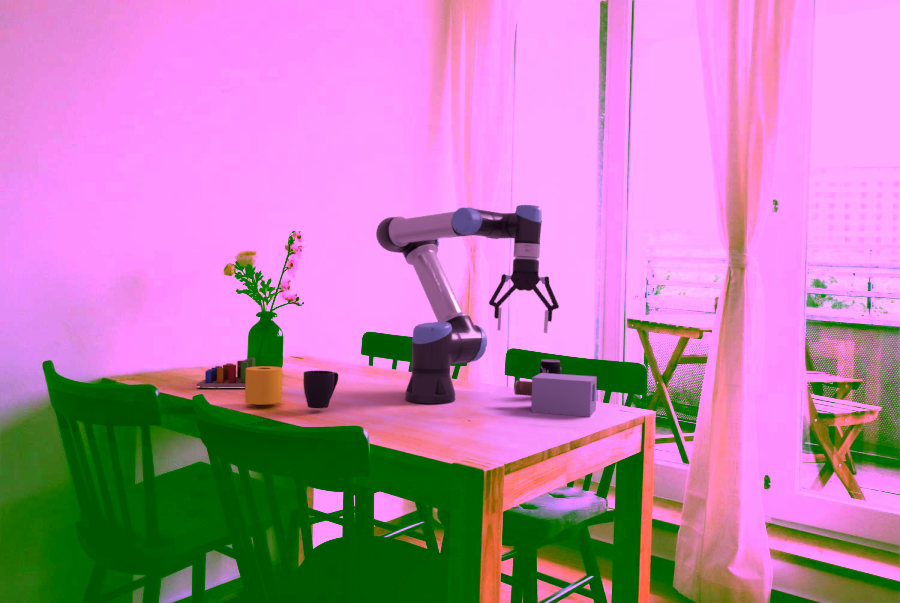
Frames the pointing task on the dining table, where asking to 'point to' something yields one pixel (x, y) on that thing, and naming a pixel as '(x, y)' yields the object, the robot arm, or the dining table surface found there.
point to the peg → (523, 388)
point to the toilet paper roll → (263, 385)
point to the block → (564, 394)
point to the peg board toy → (227, 375)
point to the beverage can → (550, 366)
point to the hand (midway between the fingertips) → (522, 331)
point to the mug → (319, 387)
